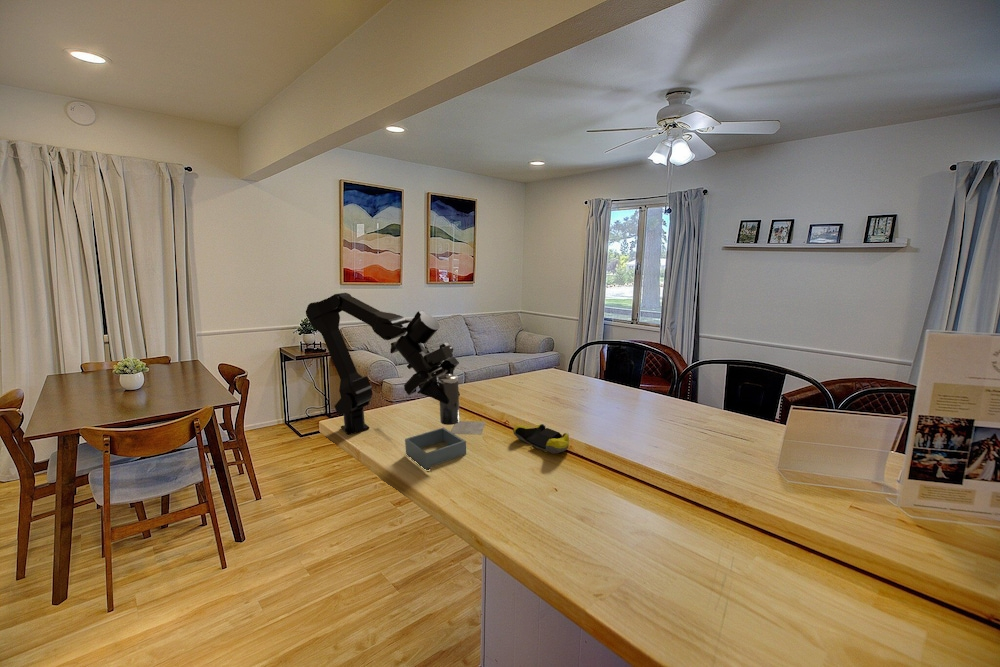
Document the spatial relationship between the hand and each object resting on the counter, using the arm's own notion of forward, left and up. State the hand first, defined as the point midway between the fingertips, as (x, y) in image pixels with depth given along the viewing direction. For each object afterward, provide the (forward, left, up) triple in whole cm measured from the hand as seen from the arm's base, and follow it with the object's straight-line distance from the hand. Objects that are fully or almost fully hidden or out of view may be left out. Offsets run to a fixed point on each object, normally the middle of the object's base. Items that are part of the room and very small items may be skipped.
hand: (453, 399), depth 113 cm
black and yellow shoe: (+15, +18, -14) cm, 27 cm away
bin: (+1, -6, -13) cm, 15 cm away
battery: (-1, -1, -6) cm, 6 cm away
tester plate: (-7, +9, -13) cm, 18 cm away
